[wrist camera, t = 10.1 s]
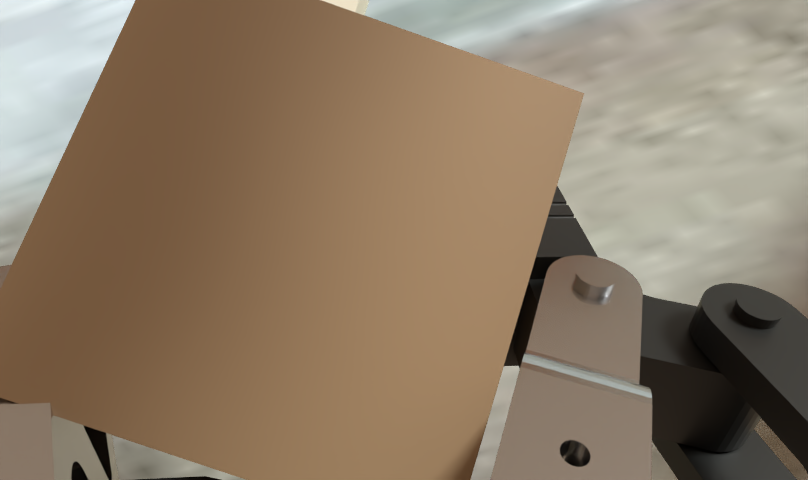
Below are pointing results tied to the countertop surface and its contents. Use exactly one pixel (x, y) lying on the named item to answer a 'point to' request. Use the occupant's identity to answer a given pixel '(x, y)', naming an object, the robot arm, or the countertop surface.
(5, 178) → the countertop surface
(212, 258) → the pillar
